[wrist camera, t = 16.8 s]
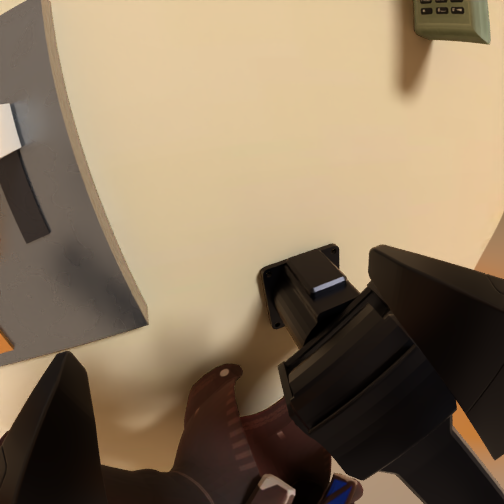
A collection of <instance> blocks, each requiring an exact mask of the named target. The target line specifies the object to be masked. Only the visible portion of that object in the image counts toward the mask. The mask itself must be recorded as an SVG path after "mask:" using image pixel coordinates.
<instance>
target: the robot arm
mask: <svg viewBox="0 0 504 504" xmlns="http://www.w3.org/2000/svg"><path fill="white" fill-rule="evenodd" d="M332 249H334V250H333V251H332ZM331 251H332V252H331ZM267 272H270V273H269V274H266V273H267ZM368 273H369V276H370V279H371V281H370V282H369V283H368V284H367V287H366V288H365V289H364V290H363V291H362V292H361V293H360V292H359V291H358V290H357V289H356V288H355V287H354V286H353V285H352V284H351V283H350V282H349V281H348V280H347V277H346V276H345V275H344V274H343V273H342V272H341V271H340V270H339V247H338V246H337V245H335V244H329V245H326V246H323V247H320V248H317V249H314V250H311V251H308V252H305V253H302V254H299V255H297V256H294V257H291V258H288V259H286V260H283V261H280V262H277V263H274V264H271V265H268V266H266V267H264V268H263V269H262V270H261V277H262V282H263V288H264V293H265V298H266V303H267V308H268V313H269V318H270V324H271V326H272V327H273V329H279V328H281V327H284V326H286V328H287V329H288V331H289V333H290V334H291V336H292V338H293V340H294V341H295V343H296V345H297V346H298V348H299V351H297V352H296V353H295V354H294V355H293V356H292V357H290V358H289V359H288V360H287V361H286V362H282V363H281V364H280V365H279V366H278V370H279V375H280V379H281V384H282V388H283V392H284V397H285V401H286V405H287V409H288V413H289V416H290V418H291V419H292V420H293V421H294V423H295V425H296V426H297V427H299V428H300V429H301V430H302V431H303V432H304V433H305V434H306V435H308V436H309V437H310V438H312V439H314V440H315V441H317V442H318V443H319V444H321V445H322V446H323V447H324V448H325V449H326V450H327V451H328V452H329V453H330V454H331V456H332V457H333V458H334V459H335V460H336V461H337V463H338V464H339V465H340V466H341V468H342V469H343V470H344V471H345V473H346V474H348V475H349V476H352V477H355V478H357V479H359V480H365V479H367V478H369V477H370V476H372V475H373V474H375V473H376V472H378V471H379V472H385V473H391V474H395V475H396V476H397V477H399V478H400V479H401V480H402V481H403V483H405V485H406V486H407V487H408V488H409V489H410V490H411V491H412V492H413V493H414V494H415V495H416V496H417V497H418V498H419V499H420V500H421V501H422V502H423V503H424V504H504V490H503V488H502V487H501V486H500V484H499V483H498V482H497V481H496V479H495V478H494V477H493V475H492V474H491V473H490V472H489V470H488V469H487V468H486V466H485V465H484V464H483V462H482V461H481V460H480V459H479V457H478V456H477V455H476V454H475V452H474V451H473V450H472V449H471V448H470V446H469V445H468V444H467V443H466V441H465V440H464V439H463V437H462V436H461V435H460V434H459V432H458V431H457V430H456V429H455V428H454V426H453V425H452V414H453V413H454V412H455V411H456V410H457V406H456V401H457V402H458V403H459V405H460V406H461V408H462V409H463V411H464V412H465V414H466V416H467V417H468V419H469V420H470V422H471V423H472V425H473V427H474V428H475V430H476V431H477V433H478V434H479V436H480V438H481V439H482V441H483V442H484V444H485V446H486V447H487V449H488V451H489V452H490V454H491V456H492V457H493V459H494V460H496V459H498V458H499V457H500V456H502V455H503V454H504V279H502V278H498V277H495V276H492V275H489V274H485V273H482V272H479V271H475V270H472V269H469V268H465V267H462V266H459V265H455V264H452V263H448V262H445V261H441V260H438V259H434V258H431V257H427V256H424V255H420V254H416V253H413V252H409V251H405V250H402V249H398V248H394V247H391V246H387V245H379V246H376V247H373V248H372V249H371V250H370V252H369V266H368ZM276 323H277V324H276ZM2 445H3V446H1V447H0V504H108V500H107V496H106V491H105V486H104V480H103V475H102V469H101V463H100V456H99V449H98V441H97V433H96V424H95V417H94V412H93V406H92V401H91V395H90V389H89V382H88V376H87V372H86V370H85V368H84V367H83V366H82V365H81V363H80V362H79V361H78V360H77V359H76V357H75V356H74V355H73V354H72V353H71V352H70V351H65V352H62V353H59V354H57V355H56V356H55V358H54V359H53V361H52V362H51V364H50V365H49V367H48V368H47V370H46V371H45V373H44V374H43V376H42V377H41V379H40V380H39V382H38V384H37V385H36V387H35V388H34V390H33V391H32V393H31V395H30V396H29V398H28V400H27V401H26V403H25V405H24V406H23V408H22V410H21V411H20V413H19V415H18V416H17V418H16V420H15V422H14V423H13V425H12V427H11V429H10V430H9V432H8V434H7V436H6V438H5V440H4V441H3V443H2Z"/></svg>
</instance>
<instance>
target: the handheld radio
mask: <svg viewBox="0 0 504 504" xmlns="http://www.w3.org/2000/svg"><path fill="white" fill-rule="evenodd" d="M413 6H414V31H415V32H416V34H417V35H419V36H421V37H424V38H426V39H428V40H448V41H462V42H472V43H481V44H489V45H490V41H491V38H490V22H489V11H488V2H487V0H413Z"/></svg>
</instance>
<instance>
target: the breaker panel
mask: <svg viewBox="0 0 504 504" xmlns="http://www.w3.org/2000/svg"><path fill="white" fill-rule="evenodd" d="M7 103H9V104H10V108H11V112H12V116H13V120H14V123H15V127H16V130H17V134H18V137H19V141H20V144H21V148H19V149H17V150H15V151H14V152H12V153H10V154H8V155H7V156H5V157H3V158H1V159H0V366H3V365H7V364H11V363H15V362H19V361H23V360H27V359H31V358H34V357H38V356H42V355H46V354H49V353H53V352H57V351H60V350H64V349H68V348H71V347H75V346H78V345H82V344H85V343H89V342H92V341H96V340H99V339H103V338H106V337H110V336H113V335H116V334H120V333H123V332H126V331H130V330H133V329H136V328H139V327H143V326H146V325H149V324H148V309H147V305H146V303H145V301H144V299H143V297H142V295H141V293H140V291H139V289H138V287H137V285H136V283H135V280H134V278H133V276H132V274H131V272H130V270H129V268H128V265H127V263H126V261H125V259H124V257H123V254H122V252H121V250H120V248H119V245H118V243H117V241H116V238H115V236H114V233H113V231H112V229H111V226H110V224H109V221H108V219H107V216H106V214H105V211H104V209H103V206H102V204H101V201H100V198H99V196H98V193H97V190H96V187H95V185H94V182H93V179H92V176H91V173H90V170H89V167H88V164H87V161H86V158H85V155H84V152H83V149H82V146H81V143H80V139H79V136H78V133H77V129H76V126H75V122H74V119H73V115H72V111H71V108H70V104H69V100H68V96H67V92H66V87H65V83H64V79H63V74H62V70H61V65H60V60H59V55H58V49H57V43H56V37H55V31H54V24H53V17H52V9H51V2H50V1H49V0H27V1H25V2H23V3H21V4H19V5H17V6H16V7H14V8H12V9H11V10H9V11H7V12H6V13H4V14H2V15H1V16H0V104H7Z"/></svg>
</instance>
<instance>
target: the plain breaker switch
mask: <svg viewBox="0 0 504 504" xmlns="http://www.w3.org/2000/svg"><path fill="white" fill-rule="evenodd" d="M19 148H21V144H20V141H19V137H18V134H17V130H16V127H15V123H14V120H13V116H12V112H11V108H10V104H9V103H7V104H0V159H1V158H3V157H5V156H7V155H8V154H10V153H12V152H14V151H15V150H17V149H19Z"/></svg>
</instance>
